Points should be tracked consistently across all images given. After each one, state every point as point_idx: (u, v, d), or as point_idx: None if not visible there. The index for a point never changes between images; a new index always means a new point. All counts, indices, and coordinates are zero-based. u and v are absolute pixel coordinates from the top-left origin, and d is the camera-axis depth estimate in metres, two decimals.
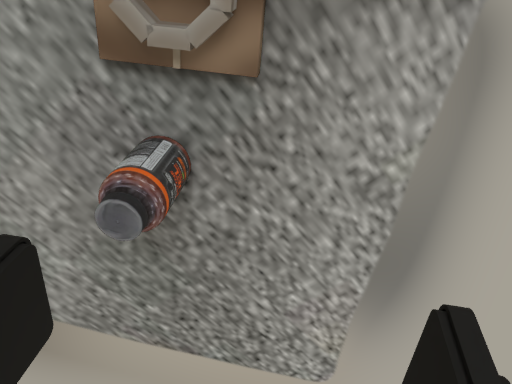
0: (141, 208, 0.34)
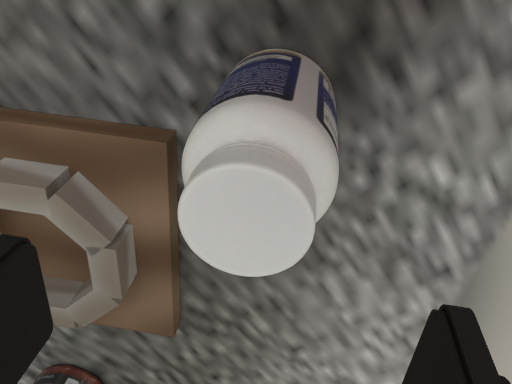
0: None
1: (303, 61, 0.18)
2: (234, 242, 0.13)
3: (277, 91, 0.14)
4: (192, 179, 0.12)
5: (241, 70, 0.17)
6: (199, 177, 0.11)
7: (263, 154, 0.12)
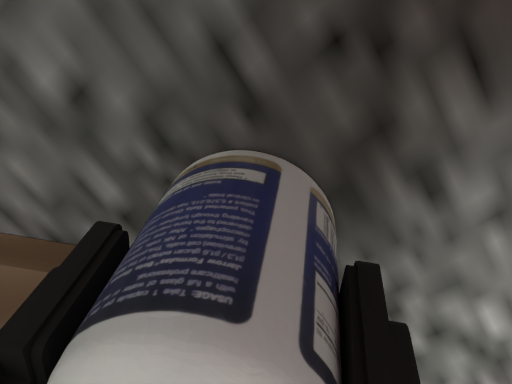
0: None
1: (284, 178, 0.11)
2: None
3: (223, 293, 0.07)
4: None
5: (177, 203, 0.10)
6: None
7: None
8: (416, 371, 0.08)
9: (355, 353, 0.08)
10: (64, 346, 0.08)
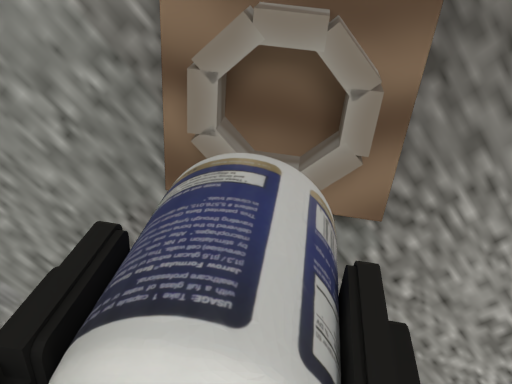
0: None
1: (283, 181, 0.11)
2: None
3: (222, 296, 0.07)
4: None
5: (177, 207, 0.10)
6: None
7: None
8: (416, 371, 0.08)
9: (355, 353, 0.08)
10: (64, 346, 0.08)
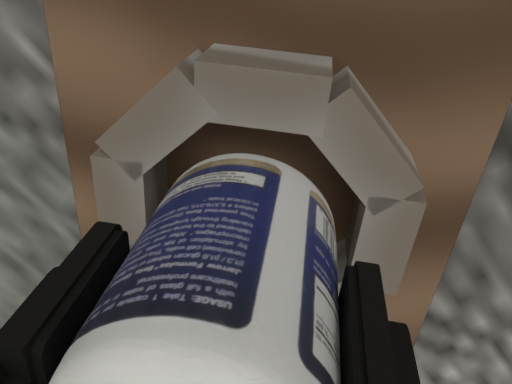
0: None
1: (283, 181, 0.11)
2: None
3: (222, 297, 0.07)
4: None
5: (177, 207, 0.10)
6: None
7: None
8: (416, 371, 0.08)
9: (355, 353, 0.08)
10: (64, 346, 0.08)
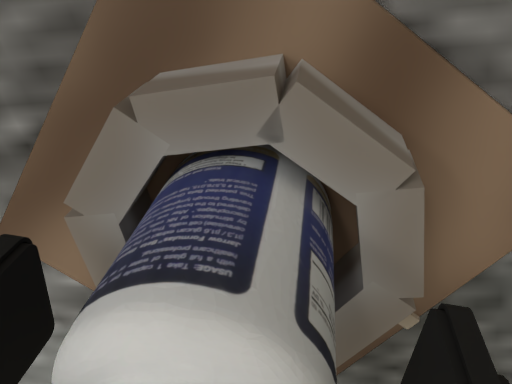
0: None
1: (281, 165, 0.11)
2: None
3: (223, 266, 0.08)
4: None
5: (179, 188, 0.10)
6: None
7: None
8: None
9: None
10: None
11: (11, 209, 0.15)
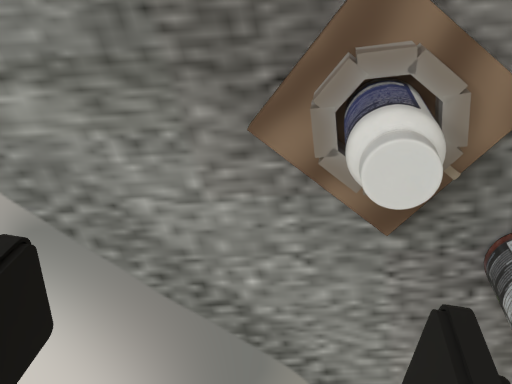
0: None
1: (409, 86, 0.27)
2: (392, 186, 0.22)
3: (410, 103, 0.23)
4: (376, 147, 0.21)
5: (374, 90, 0.26)
6: (382, 146, 0.21)
7: (416, 135, 0.21)
8: None
9: None
10: None
11: (260, 115, 0.31)
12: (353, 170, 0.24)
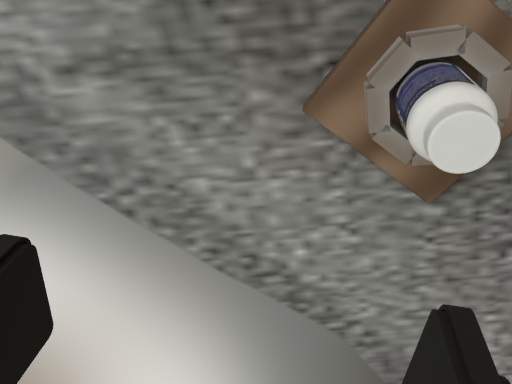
0: None
1: (456, 66, 0.31)
2: (455, 153, 0.25)
3: (465, 80, 0.27)
4: (442, 119, 0.24)
5: (426, 70, 0.29)
6: (448, 118, 0.24)
7: (477, 108, 0.24)
8: None
9: None
10: None
11: (316, 97, 0.34)
12: (414, 141, 0.27)
